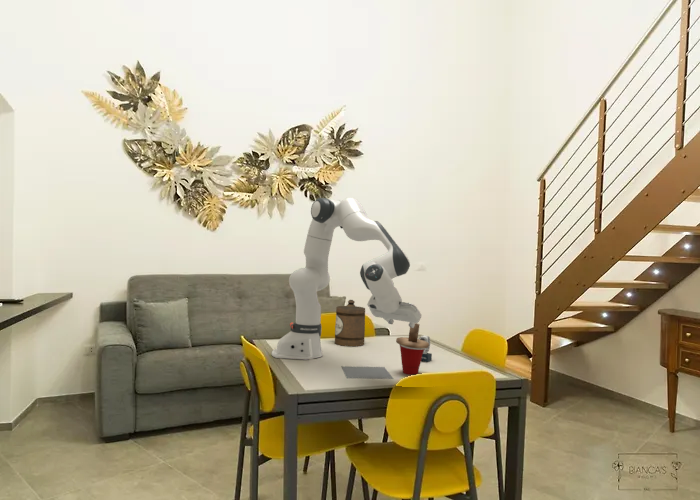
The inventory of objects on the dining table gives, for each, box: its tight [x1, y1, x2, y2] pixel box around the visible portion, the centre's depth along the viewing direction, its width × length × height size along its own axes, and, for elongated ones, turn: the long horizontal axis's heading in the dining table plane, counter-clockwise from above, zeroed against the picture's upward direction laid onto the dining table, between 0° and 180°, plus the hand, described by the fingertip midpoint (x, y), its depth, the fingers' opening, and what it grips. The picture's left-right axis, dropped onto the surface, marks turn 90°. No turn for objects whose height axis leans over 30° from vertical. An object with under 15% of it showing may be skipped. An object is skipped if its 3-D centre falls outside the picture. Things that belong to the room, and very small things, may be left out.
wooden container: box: [334, 299, 366, 347], centre depth 269 cm, size 15×15×22 cm
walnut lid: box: [395, 323, 429, 348], centre depth 214 cm, size 13×13×8 cm
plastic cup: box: [398, 344, 425, 376], centre depth 214 cm, size 11×11×12 cm
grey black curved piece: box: [418, 335, 433, 363], centre depth 240 cm, size 6×8×11 cm
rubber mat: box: [341, 365, 394, 380], centre depth 212 cm, size 18×18×1 cm
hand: (401, 324), depth 207 cm, fingers open, 8 cm apart
